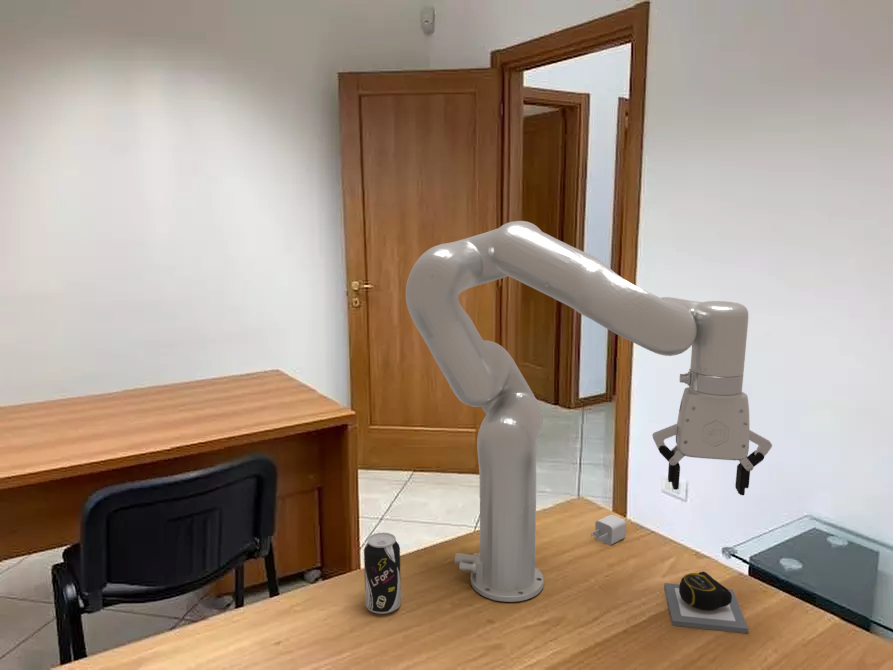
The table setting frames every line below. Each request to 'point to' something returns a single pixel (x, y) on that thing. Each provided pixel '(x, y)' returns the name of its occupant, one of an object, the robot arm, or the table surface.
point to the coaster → (704, 613)
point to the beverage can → (382, 573)
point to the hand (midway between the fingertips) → (706, 489)
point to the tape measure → (703, 592)
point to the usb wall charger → (610, 529)
